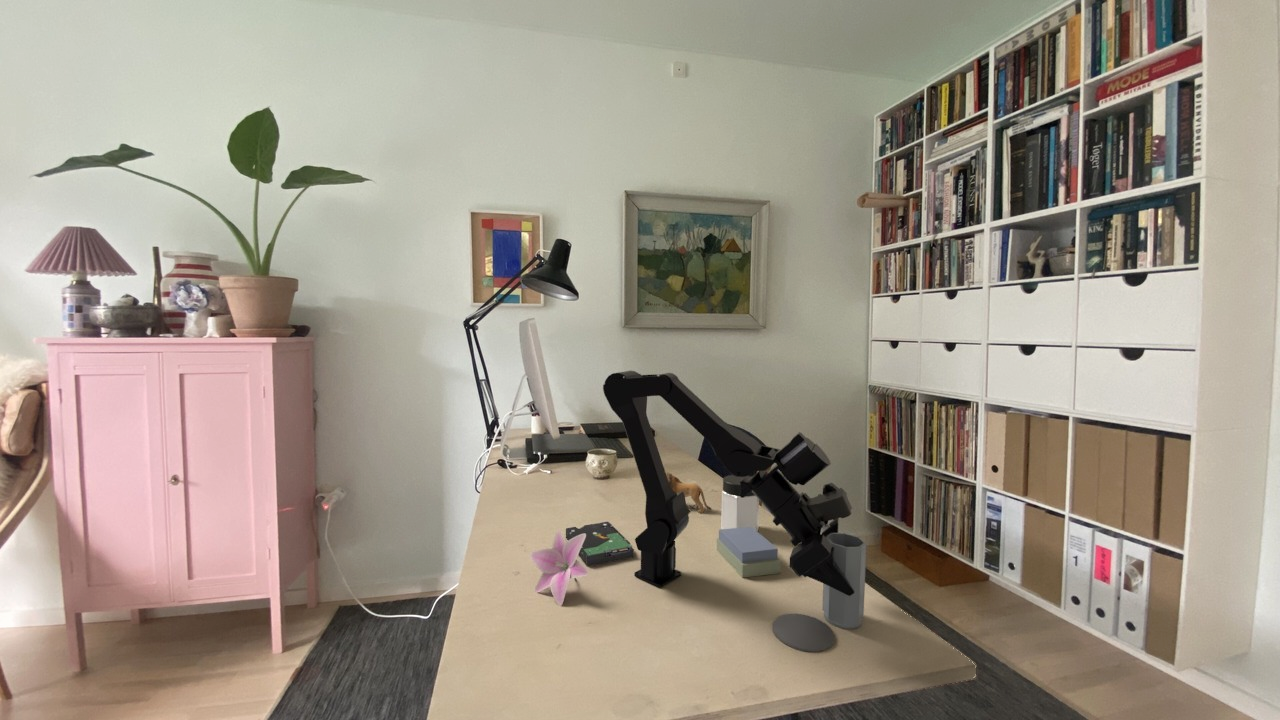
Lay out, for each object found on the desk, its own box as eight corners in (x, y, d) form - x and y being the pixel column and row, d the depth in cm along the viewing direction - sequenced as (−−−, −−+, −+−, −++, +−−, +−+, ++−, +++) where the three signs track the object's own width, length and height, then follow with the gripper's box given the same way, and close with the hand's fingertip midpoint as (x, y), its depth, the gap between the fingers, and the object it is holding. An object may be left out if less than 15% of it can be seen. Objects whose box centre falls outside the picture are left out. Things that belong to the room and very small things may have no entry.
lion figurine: (653, 507, 129) (653, 473, 128) (659, 501, 134) (659, 468, 133) (709, 515, 124) (710, 479, 123) (713, 507, 129) (714, 473, 129)
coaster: (819, 660, 70) (819, 657, 70) (761, 633, 76) (761, 630, 76) (843, 632, 76) (843, 629, 76) (788, 609, 82) (788, 607, 82)
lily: (529, 580, 93) (513, 547, 88) (584, 546, 98) (571, 512, 93) (553, 630, 84) (537, 596, 79) (613, 590, 88) (601, 555, 83)
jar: (766, 532, 114) (768, 481, 113) (744, 542, 108) (745, 488, 108) (736, 520, 120) (737, 472, 120) (713, 529, 115) (714, 478, 114)
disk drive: (564, 540, 110) (587, 569, 96) (564, 528, 110) (586, 555, 96) (608, 532, 114) (635, 559, 101) (608, 520, 114) (635, 545, 101)
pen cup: (854, 634, 76) (857, 551, 75) (817, 619, 80) (820, 540, 79) (866, 618, 80) (870, 539, 79) (831, 604, 84) (834, 529, 83)
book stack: (780, 572, 95) (781, 550, 94) (742, 577, 93) (742, 554, 92) (751, 546, 106) (751, 526, 106) (716, 549, 104) (717, 529, 104)
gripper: (815, 488, 72) (898, 579, 68) (825, 458, 88) (892, 530, 85) (758, 532, 75) (834, 621, 71) (778, 495, 92) (840, 565, 88)
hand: (853, 580), depth 79 cm, fingers open, 9 cm apart
